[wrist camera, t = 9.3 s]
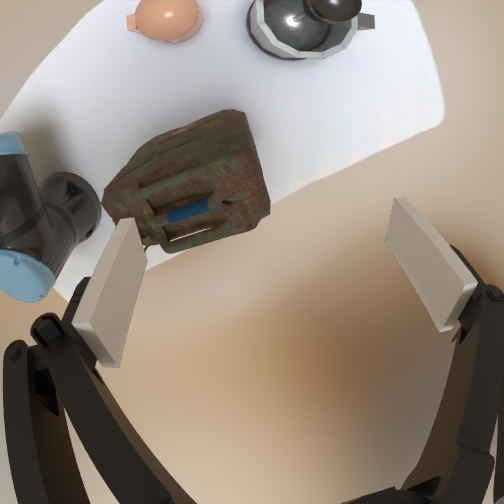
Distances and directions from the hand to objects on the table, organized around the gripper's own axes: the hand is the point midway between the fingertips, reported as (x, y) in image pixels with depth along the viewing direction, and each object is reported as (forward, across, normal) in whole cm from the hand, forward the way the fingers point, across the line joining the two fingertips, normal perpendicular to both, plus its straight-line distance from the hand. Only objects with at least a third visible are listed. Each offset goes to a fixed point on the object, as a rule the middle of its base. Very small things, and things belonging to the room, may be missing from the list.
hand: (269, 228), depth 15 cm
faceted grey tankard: (+37, +9, +14) cm, 40 cm away
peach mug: (+37, -9, +16) cm, 41 cm away
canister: (+37, -8, -6) cm, 38 cm away
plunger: (+32, +8, +14) cm, 36 cm away
